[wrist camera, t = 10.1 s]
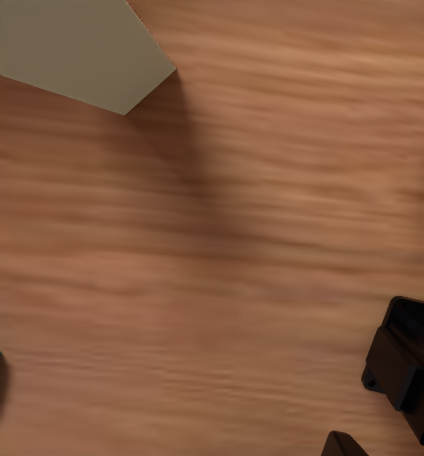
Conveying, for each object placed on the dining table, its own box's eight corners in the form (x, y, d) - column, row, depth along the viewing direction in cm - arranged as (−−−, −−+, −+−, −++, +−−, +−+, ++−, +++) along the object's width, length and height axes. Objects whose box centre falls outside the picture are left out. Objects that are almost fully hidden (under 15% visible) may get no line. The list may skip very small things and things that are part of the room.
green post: (176, 68, 18) (38, -114, 6) (124, 115, 19) (-96, 44, 7) (130, 7, 18) (-129, -338, 5) (79, 57, 19) (-253, -139, 6)
